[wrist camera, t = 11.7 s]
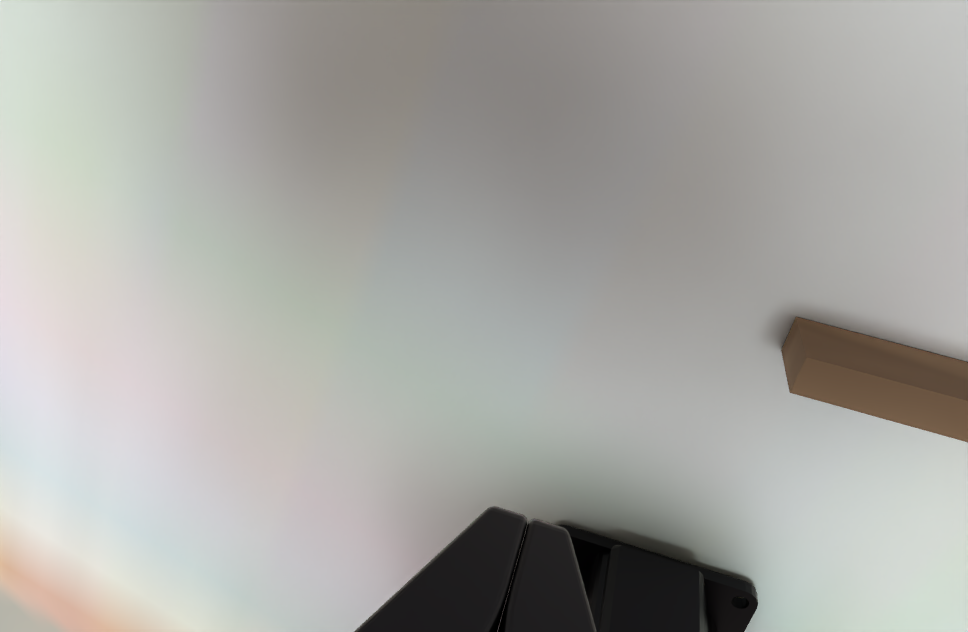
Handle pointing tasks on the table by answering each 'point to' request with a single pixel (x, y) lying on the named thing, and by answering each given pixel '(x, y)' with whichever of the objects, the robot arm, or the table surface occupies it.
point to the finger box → (877, 378)
